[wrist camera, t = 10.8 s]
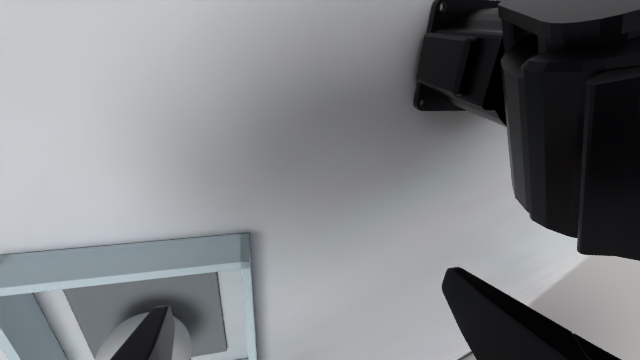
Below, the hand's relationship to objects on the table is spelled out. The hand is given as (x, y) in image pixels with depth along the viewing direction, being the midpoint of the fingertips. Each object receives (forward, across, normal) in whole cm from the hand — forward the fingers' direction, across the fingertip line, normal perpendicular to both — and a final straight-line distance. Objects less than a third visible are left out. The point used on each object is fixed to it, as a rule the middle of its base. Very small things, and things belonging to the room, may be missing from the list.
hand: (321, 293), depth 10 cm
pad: (+12, +10, +14) cm, 21 cm away
